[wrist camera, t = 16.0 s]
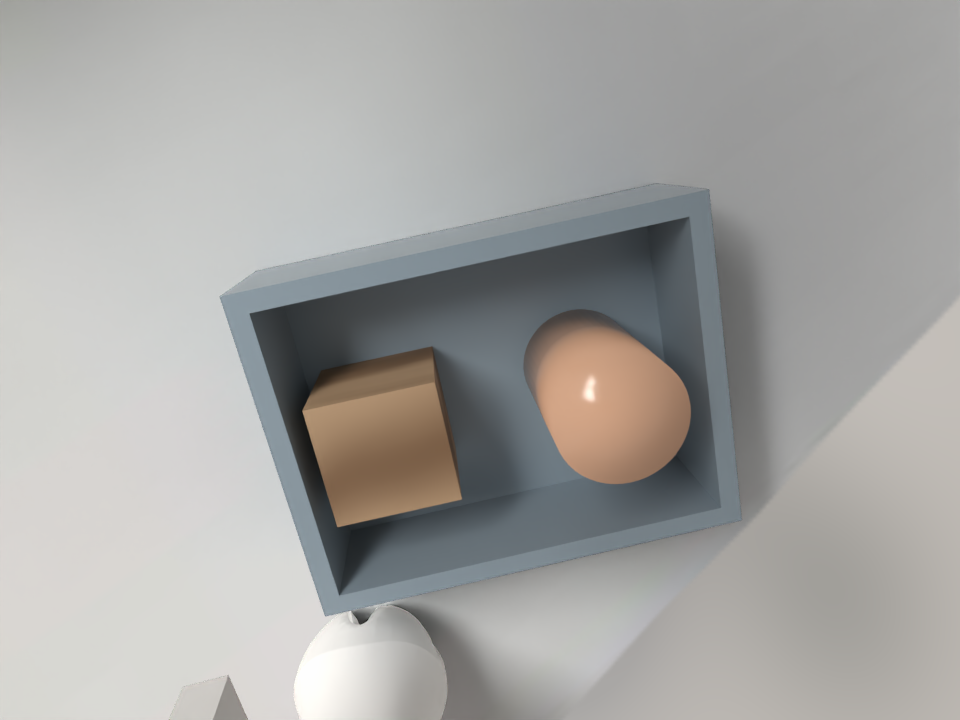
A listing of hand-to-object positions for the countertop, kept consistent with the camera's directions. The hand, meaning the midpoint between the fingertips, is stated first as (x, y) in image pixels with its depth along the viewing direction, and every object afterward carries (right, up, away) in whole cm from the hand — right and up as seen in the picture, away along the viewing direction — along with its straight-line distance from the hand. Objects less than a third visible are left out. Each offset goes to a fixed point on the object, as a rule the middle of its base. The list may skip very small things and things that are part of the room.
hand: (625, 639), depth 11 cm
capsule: (+2, +5, +19) cm, 20 cm away
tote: (-2, +4, +19) cm, 20 cm away
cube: (-7, +2, +19) cm, 20 cm away
